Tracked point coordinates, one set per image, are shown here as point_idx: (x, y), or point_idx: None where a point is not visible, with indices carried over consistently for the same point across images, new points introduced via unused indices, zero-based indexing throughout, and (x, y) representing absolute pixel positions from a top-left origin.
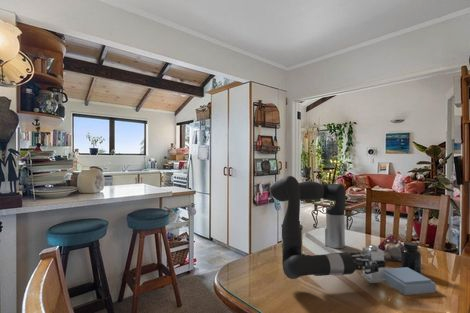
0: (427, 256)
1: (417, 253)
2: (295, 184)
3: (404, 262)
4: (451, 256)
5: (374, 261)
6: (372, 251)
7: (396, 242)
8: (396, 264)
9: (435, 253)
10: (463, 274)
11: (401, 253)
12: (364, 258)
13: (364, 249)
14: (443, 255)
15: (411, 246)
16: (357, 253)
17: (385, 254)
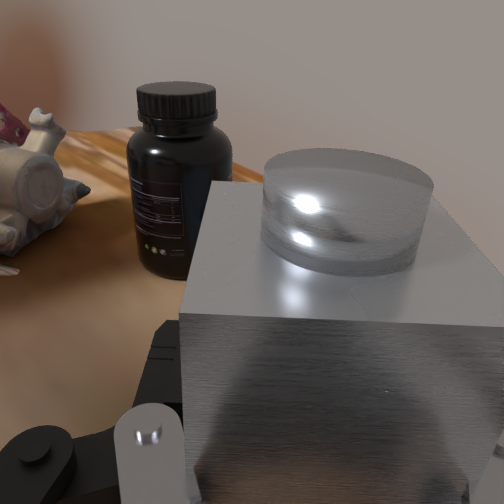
0: (91, 160)
1: (226, 136)
2: None
3: (180, 221)
4: (130, 135)
5: (500, 439)
6: (464, 287)
7: (10, 129)
8: (76, 253)
9: (88, 142)
10: (250, 172)
11: (148, 173)
12: (244, 492)
13: (257, 340)
14: (113, 140)
15: (205, 100)
16: (26, 496)
17: (3, 227)
